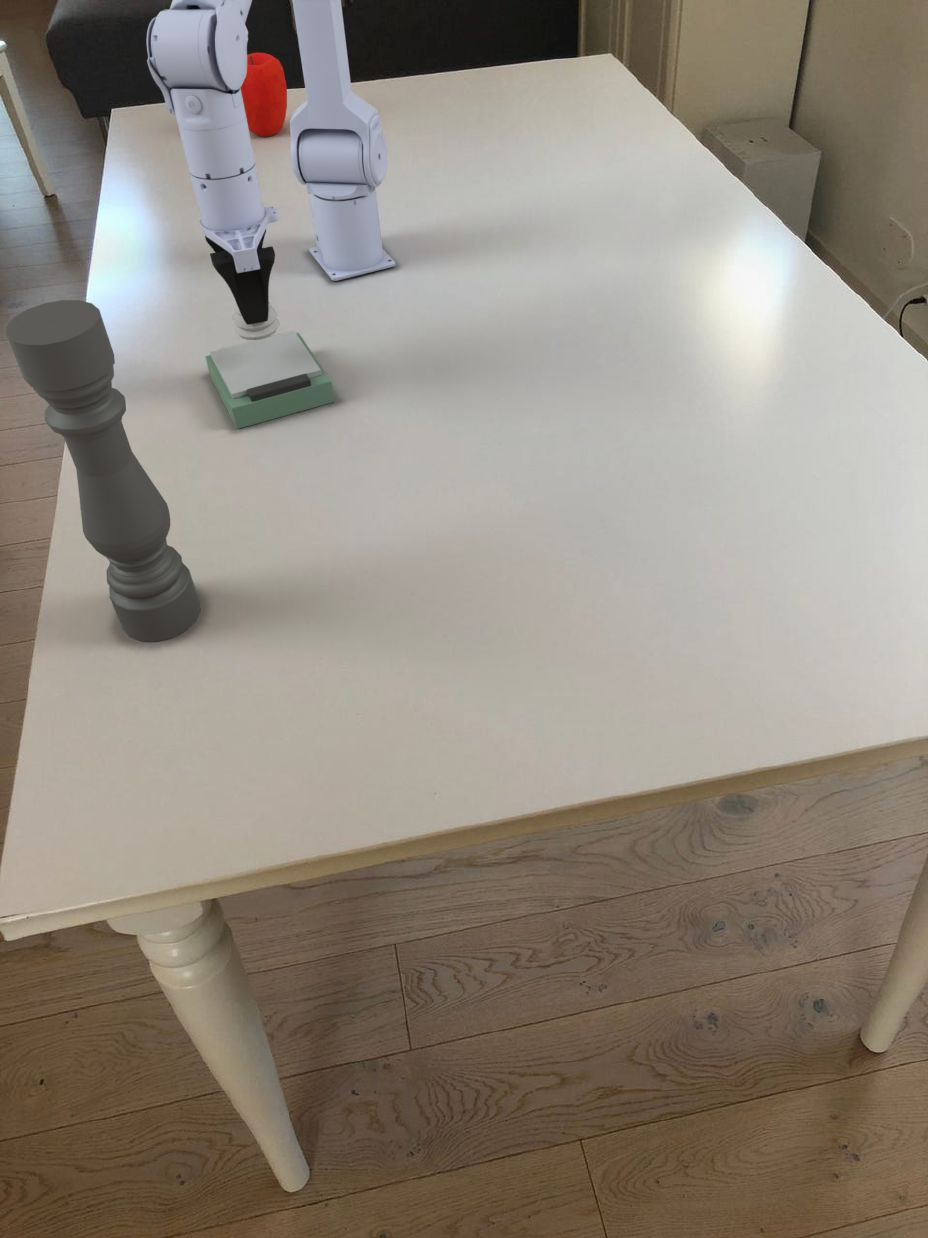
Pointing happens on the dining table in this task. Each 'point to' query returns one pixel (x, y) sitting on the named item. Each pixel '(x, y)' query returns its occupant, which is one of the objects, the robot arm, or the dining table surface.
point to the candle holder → (106, 466)
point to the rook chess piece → (256, 325)
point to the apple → (264, 94)
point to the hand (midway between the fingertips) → (253, 311)
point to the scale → (269, 378)
